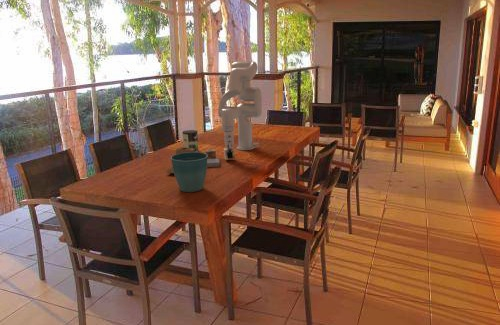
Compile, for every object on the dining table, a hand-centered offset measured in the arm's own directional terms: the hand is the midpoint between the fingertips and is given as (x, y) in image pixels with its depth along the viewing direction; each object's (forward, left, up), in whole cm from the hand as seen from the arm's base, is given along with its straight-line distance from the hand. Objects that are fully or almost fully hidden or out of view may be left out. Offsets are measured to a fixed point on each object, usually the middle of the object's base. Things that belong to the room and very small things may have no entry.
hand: (229, 156), depth 276 cm
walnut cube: (+11, -5, -3) cm, 13 cm away
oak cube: (0, 0, -1) cm, 1 cm away
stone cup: (+29, +24, -3) cm, 38 cm away
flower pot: (+25, +55, -3) cm, 60 cm away
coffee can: (+23, -31, -3) cm, 39 cm away
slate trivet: (+12, +9, -2) cm, 15 cm away
